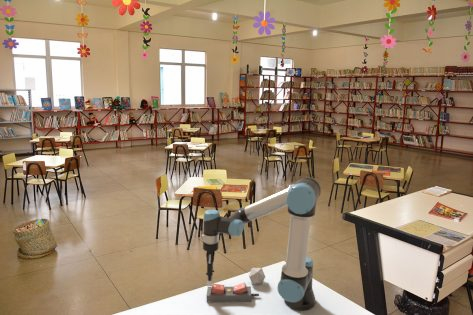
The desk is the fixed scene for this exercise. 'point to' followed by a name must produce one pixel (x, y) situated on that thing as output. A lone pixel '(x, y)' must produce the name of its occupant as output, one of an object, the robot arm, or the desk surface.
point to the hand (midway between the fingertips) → (209, 285)
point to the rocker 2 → (240, 288)
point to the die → (256, 276)
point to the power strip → (230, 295)
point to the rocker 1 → (218, 288)
